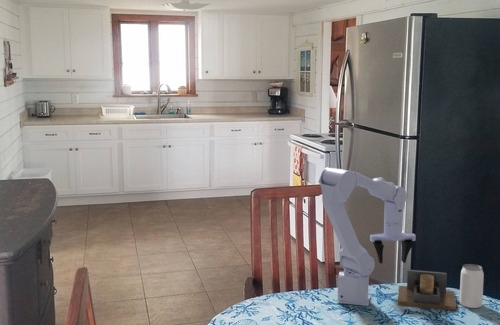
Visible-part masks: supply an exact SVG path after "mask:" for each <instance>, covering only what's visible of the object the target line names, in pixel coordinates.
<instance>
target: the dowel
mask: <svg viewBox="0 0 500 325" xmlns="http://www.w3.org/2000/svg"><path fill="white" fill-rule="evenodd" d="M433 288H434V276H433V275H430V274H422V275H420V293H422V294H433Z"/></svg>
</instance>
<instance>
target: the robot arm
mask: <svg viewBox="0 0 500 325" xmlns="http://www.w3.org/2000/svg"><path fill="white" fill-rule="evenodd" d="M318 184H319V185H320V188H321V198H322V199H321V201H322V206H323V208H324V210H325V212H326V215H327V218H328V220H329V222H330V223H331V226H332V228H333V231H334V233H335V235H336V238H337V240H338V242H339V244H340V247H341V248H340V249H339V250H338V254H339V259H340V260H339V262H340V265H341V267H342V268H343V271H339V273H338V276H337V277H338V278H337V303H338V304H345V305H347V304H348V305H356V306H365V307H368V306H369V305H370V299H371V295H370V294H369V284H370V282H369V280H370V278H369V276H371V275H372V273H373V271H374V269H375V259H374V258H373V256H371V255H370V254H369V251H368V250H367V249H365V247H363V245H361V244H360V241H359V239H358V237H357V234H356V232H355V229H354V227H353V225H352V222H351V220H350V218H349V216H348V213H347V211H346V208H345V205H344V203H345V202H347V200H348V199H349V197H350V195H351V194H352V192H353V190H354V189H355V188H357V187H361V188H363V189H367V191H368V194H370V196H372V197H375V198H378V199H381V201H383V202H384V206H383V207H384V209H383V211H384V213H383V233H375V234H370V235H369V241H370V242H371V243H372V244H373V246H374V249H375V252H376V253H377V254H376V255H377V259H378V260H377V261H378V263H379V264H383V263H384V262H383V261H384V260H383V253H384V244H383V242H394V241H395V242H400V243H401V256H400V259H401V262H402V263H403V264H406V262H407V260H408V259H407V258H408V255H409V253H410V251H411V249H412V247H413V246H414V242H416V237H417V236H416V233H404V232H403V216H404V215H403V213H404V212H403V211H404V209H405V203H406V201H407V199H408V194H407V191H406V189H405V188H404V187H402V186H399V185H395V183H394V182H392V181H386V179H385V178H384V177H380V176H379V177H374V178H370V177H368V176H366V175H364V174H362V173H359V172H358V171H352V170H346V169H342V168H336V167H335V168H334V167H333V166H327V167H325V168H324V169H323V170H322V172H321V174H320V176H319V179H318Z"/></svg>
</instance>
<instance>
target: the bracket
mask: <svg viewBox="0 0 500 325" xmlns="http://www.w3.org/2000/svg"><path fill="white" fill-rule="evenodd" d="M422 274H430V275H433V276H434V288H433V294H422V293H420V275H422ZM447 275H448V273H447V272H439V271H428V270H418V269H407V274H406V276H407V278H406V280H407V281H406V282H407V283H406V285H399V286H398V293H397V294H398V295H397V305H399V306H406V307H415V308H416V307H417V308H426V309H427V308H428V309H436V310H444V311H445V310H446V311H457V302H456V296H455V291H454V290H450V289H449V290H447V280H448V279H447V278H448V276H447Z"/></svg>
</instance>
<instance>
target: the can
mask: <svg viewBox="0 0 500 325" xmlns="http://www.w3.org/2000/svg"><path fill="white" fill-rule="evenodd" d="M484 277H485V276H484V271H483V267H482V266H481V265H479V264H473V263H468V264H467V263H466V264H463V265H462V269H461V271H460V280H459V281H460V284H459V286H460V287H459V304H460V305H461V306H463V307H464V308H468V309H480V308H482V306H483V297H484V296H483V295H484Z"/></svg>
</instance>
